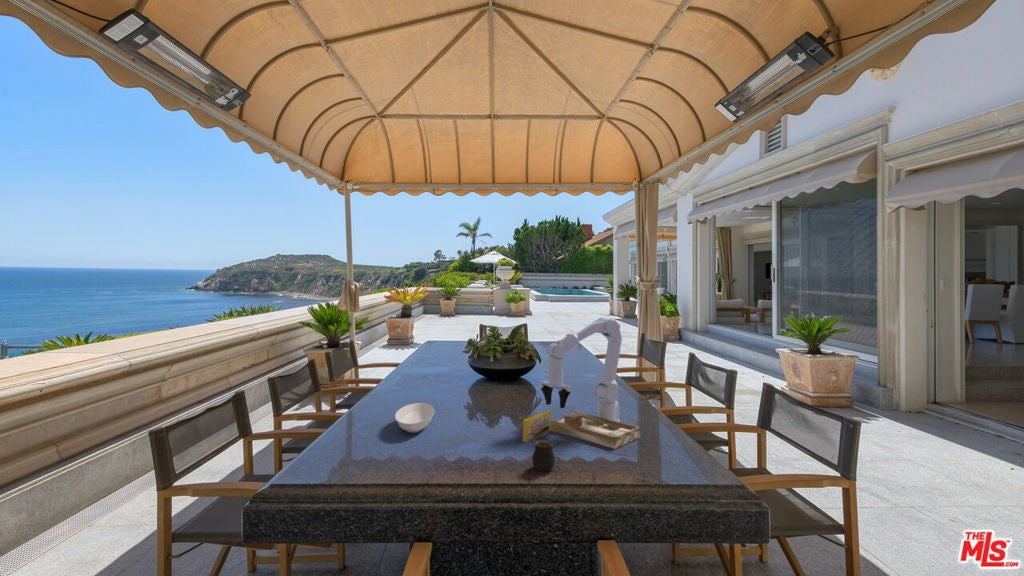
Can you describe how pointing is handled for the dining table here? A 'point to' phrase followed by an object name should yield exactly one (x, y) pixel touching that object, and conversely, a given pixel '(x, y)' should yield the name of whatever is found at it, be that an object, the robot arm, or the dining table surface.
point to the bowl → (414, 416)
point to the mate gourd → (543, 456)
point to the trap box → (599, 430)
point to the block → (573, 419)
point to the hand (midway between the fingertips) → (555, 406)
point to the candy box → (536, 426)
